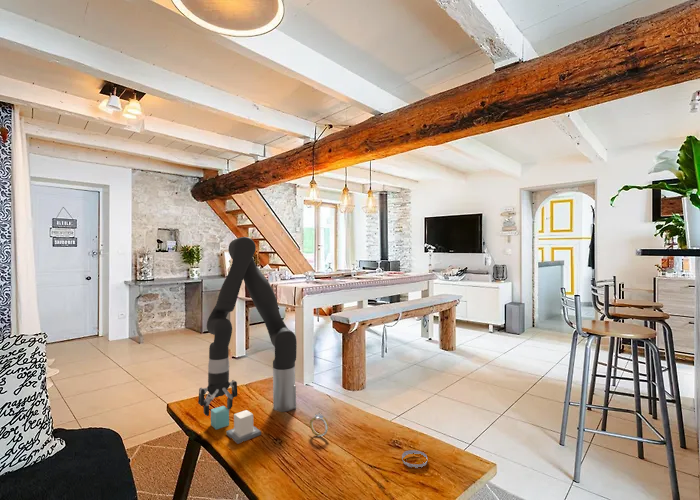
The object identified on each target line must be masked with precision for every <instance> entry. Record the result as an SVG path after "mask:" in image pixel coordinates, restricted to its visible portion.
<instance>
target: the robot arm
mask: <svg viewBox="0 0 700 500" xmlns="http://www.w3.org/2000/svg"><path fill="white" fill-rule="evenodd" d="M256 247H257V246H256V243H255V242H254V240H253V239H252V238H250V237H249V236H248V237H247V236H242V237H238V238H235V239H233V240H231V241H230V242H229V245H228V255H229V256H230V257H231V260H232V262H231V265H230V269H229V271H228V273H227V276H226V277H225V279H224V281H223V283H222V285H221V288H220V290H219V294H218V297H217V301H216V304H215V306H214V307H213V309H212V311H211V312H210V314H209V317H208V318H207V322H206V331H207V332H208V333H210V334H211V335H214V337H213V342H212V343H210V344H209V347H208V348H209V349H208V352H209V353H208V365H207V371H208V373H207V375H208V376H207V387H199V389H198V402H197V404H199V405H200V406H201V407H203V414H204V415H205V416H206V417H208V416H210V404H211V402H212V401H213V400H214V399H216V398H219V397H224V396H225V397H227V401H226V408H228V409H229V410H231V409H232V408H233V399H234V398H237V397H238V382H237V381H236V380H234V379H232V380H231V381H230V361H229V355H230V353H229V352H230V351H229V350H230V349H229V345H230V342H231V338H232V335H233V334H232V333H233V325H232V322H231V320H230V319H228V318H227V317H228V315H229V313H231V312H233V311H234V309H235V307H236V304H237V301H238V297H239V294H240V290H241V287H242V284H243V281H244V284H245V287H246V289H247V290H248V291H247V292H248V293H249V296H250V298H251V300H252V302H253V305H254V306H255V308H256V310H257V312H258V314H259V315H260V317H261V319H262V321H263V323H264V325H265V327H266V330H267V333H268V335H269V339H270V342H271V344H272V345H273V347H274V359H273V361H272V386H273V387H272V393H273V394H272V396H273V397H272V399H273V400H272V401H273V404H272V405H273V407H272V408H273V410H274V411H275V412H281V413H282V412H283V413H284V412H289V411H292V410H294V409H295V410H296V409H297V385H296V360H297V336H296V334H295V332H293V331H292V330H291V329H290V328H289V327H287V325H286V324H285V322H284V320H283V317H282V316H281V314H280V310H279V302H278V299H277V297H276V294H275V292H274V289H273V287H272V286H271V284H270V282H269V280H268V279H267V278H266V276H265V275H264V274H263V273H262V272H261V271H260V269H259V268H258V266H257V264H256V262H255V260H254V256H255V253H256V250H257V249H256ZM229 388H231V393H230V392H229ZM207 392H208V393H207ZM205 395H206V397H205Z"/></svg>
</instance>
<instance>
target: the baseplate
mask: <svg viewBox="0 0 700 500" xmlns="http://www.w3.org/2000/svg"><path fill="white" fill-rule="evenodd" d="M225 433H226V435H227V436H228V437H229V438H230V439H231V438H232V439H233V440H232V439H231V440H232V441H234V442H235V443H236V444H237V445H238V444H241V443H242V442H243V441H244V442H245V441H248V440H251V439H253V438H257V437H259V436H261V435H262V430H260V429H258V428H257V426H254V425H253V431H252V432H249V433H246V434H244V435H241V436H240V435H239V434H238V433H236V432H235V431H234V427H233V428H231V429H228V430H226V432H225Z"/></svg>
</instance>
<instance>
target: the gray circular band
mask: <svg viewBox="0 0 700 500" xmlns="http://www.w3.org/2000/svg"><path fill="white" fill-rule="evenodd" d="M413 453H414V454H421V455H423V456H424V457H426V459H427V461H426V462H425V463H424V462H423V463H419V464H416V463H414V464H413V463H411V462H407V461H406V462H405V461H404V460H403V458H404V457H405V456H406V455H408V454H413ZM401 459H402V463H403V464H404V465H405V466H407V467H408V468H412V467H415V468H414V469H419V468H418V467H421V468H423V466H424V467H425V466H426V465H427V464H428V456H427V454H426V453H425V452H423V451H420V450H416V449H414V450H413V449H409V450H405V451H403V452H402V454H401Z"/></svg>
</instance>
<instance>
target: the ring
mask: <svg viewBox="0 0 700 500" xmlns="http://www.w3.org/2000/svg"><path fill="white" fill-rule="evenodd" d="M315 420H320V421H322V422H323V424H324V427H325V428H324V429H325V430H324V432H323V433H321V432H317V431H316V430H315V428H314V425H313V423H314V421H315ZM309 428H310V430H311V432H312V433H313V434H314V436H316V437H318V438H320V437H324V436H325V435H326V434H327V432H328V431H329V422H328V420H327V418H326V417H324V415H323V414H322V413H320V412H318V414H317V413H315V414H314V416H313V417H312V418H311V419H310V421H309Z"/></svg>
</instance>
